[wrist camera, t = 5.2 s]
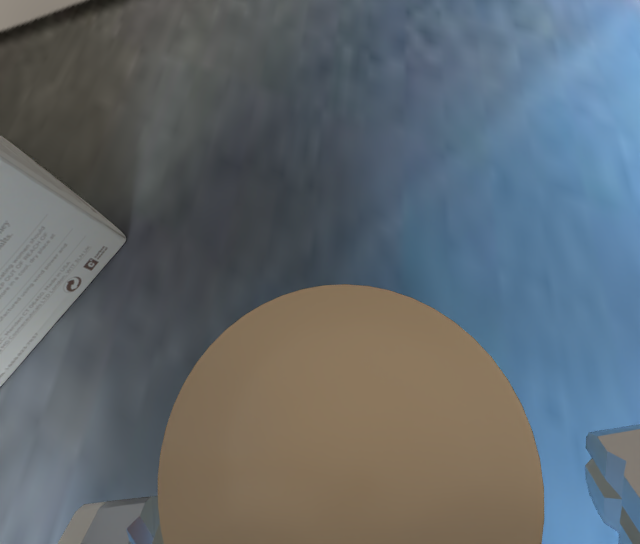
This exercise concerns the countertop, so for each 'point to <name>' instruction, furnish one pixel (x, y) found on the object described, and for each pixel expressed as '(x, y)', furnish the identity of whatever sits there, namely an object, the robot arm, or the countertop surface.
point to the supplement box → (43, 252)
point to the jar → (348, 431)
